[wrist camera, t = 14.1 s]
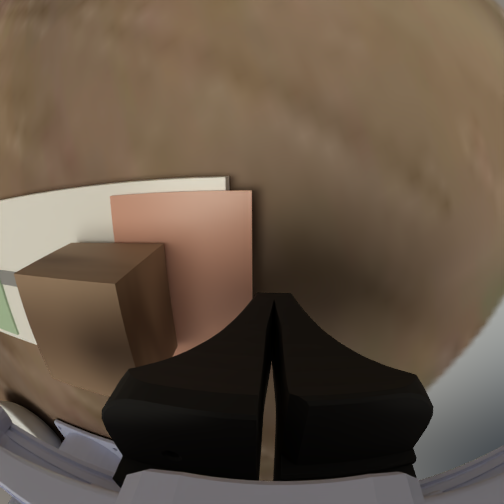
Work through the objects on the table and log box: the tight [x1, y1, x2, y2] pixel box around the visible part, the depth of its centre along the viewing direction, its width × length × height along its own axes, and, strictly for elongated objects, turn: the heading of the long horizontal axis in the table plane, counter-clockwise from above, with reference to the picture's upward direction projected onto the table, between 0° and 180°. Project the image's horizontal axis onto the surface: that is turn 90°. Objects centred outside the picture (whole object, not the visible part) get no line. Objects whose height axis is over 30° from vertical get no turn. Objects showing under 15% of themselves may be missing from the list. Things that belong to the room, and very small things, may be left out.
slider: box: [14, 243, 178, 397], centre depth 10 cm, size 5×5×4 cm
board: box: [0, 176, 253, 356], centre depth 13 cm, size 10×25×1 cm, turn 90°
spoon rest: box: [0, 401, 62, 449], centre depth 20 cm, size 24×12×7 cm, turn 12°
